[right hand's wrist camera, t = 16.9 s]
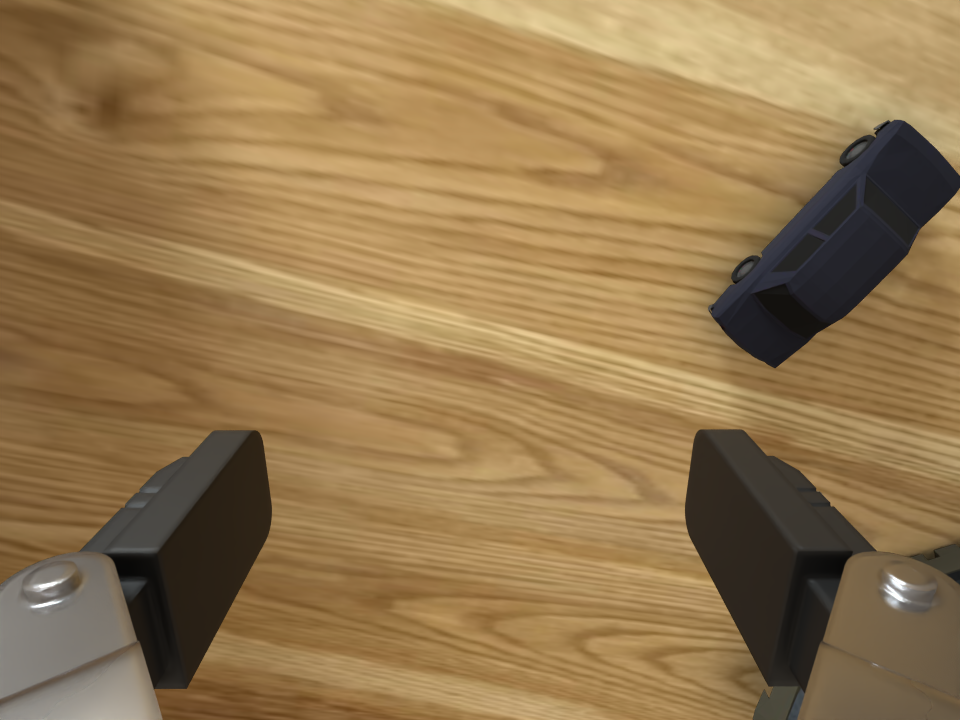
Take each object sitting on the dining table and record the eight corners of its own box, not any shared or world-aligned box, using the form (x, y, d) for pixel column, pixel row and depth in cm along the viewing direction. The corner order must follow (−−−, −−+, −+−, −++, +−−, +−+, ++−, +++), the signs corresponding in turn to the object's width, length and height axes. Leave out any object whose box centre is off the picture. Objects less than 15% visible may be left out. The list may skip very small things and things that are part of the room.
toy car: (935, 180, 36) (1002, 186, 32) (755, 360, 40) (792, 389, 36) (871, 116, 35) (932, 112, 30) (693, 308, 39) (722, 331, 34)
